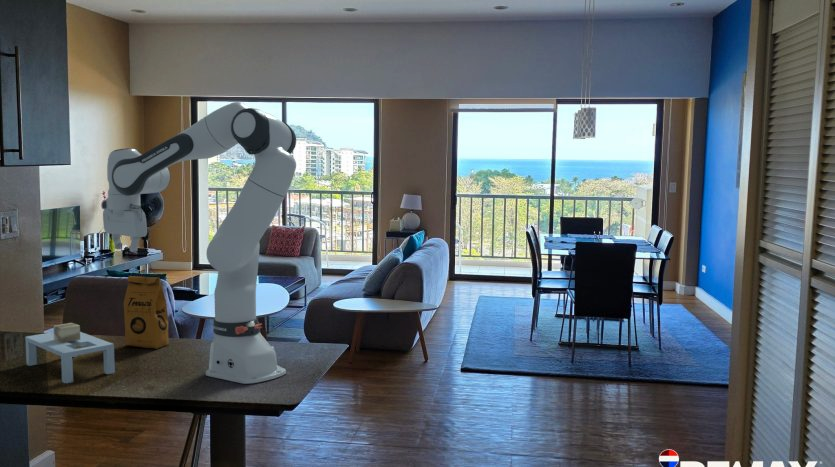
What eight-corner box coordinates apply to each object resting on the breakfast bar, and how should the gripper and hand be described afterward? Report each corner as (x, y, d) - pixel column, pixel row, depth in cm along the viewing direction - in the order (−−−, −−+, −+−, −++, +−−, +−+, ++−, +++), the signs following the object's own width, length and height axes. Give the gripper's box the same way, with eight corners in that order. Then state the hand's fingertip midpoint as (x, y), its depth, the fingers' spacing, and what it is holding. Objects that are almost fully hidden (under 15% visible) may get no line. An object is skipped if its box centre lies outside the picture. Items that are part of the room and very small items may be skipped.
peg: (80, 355, 195) (79, 325, 194) (62, 358, 191) (61, 328, 190) (73, 351, 198) (72, 322, 197) (54, 355, 194) (53, 325, 193)
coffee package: (154, 351, 213) (152, 279, 211) (120, 348, 216) (118, 277, 214) (174, 343, 222) (172, 275, 220) (141, 340, 226) (139, 273, 224)
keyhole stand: (114, 372, 190) (113, 344, 190) (65, 383, 181) (64, 353, 180) (73, 355, 207) (72, 329, 207) (26, 364, 198) (25, 336, 197)
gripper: (152, 204, 202) (153, 252, 203) (118, 202, 216) (120, 246, 217) (131, 205, 198) (132, 254, 199) (98, 202, 211) (99, 248, 212)
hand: (125, 250), depth 208 cm, fingers open, 8 cm apart
